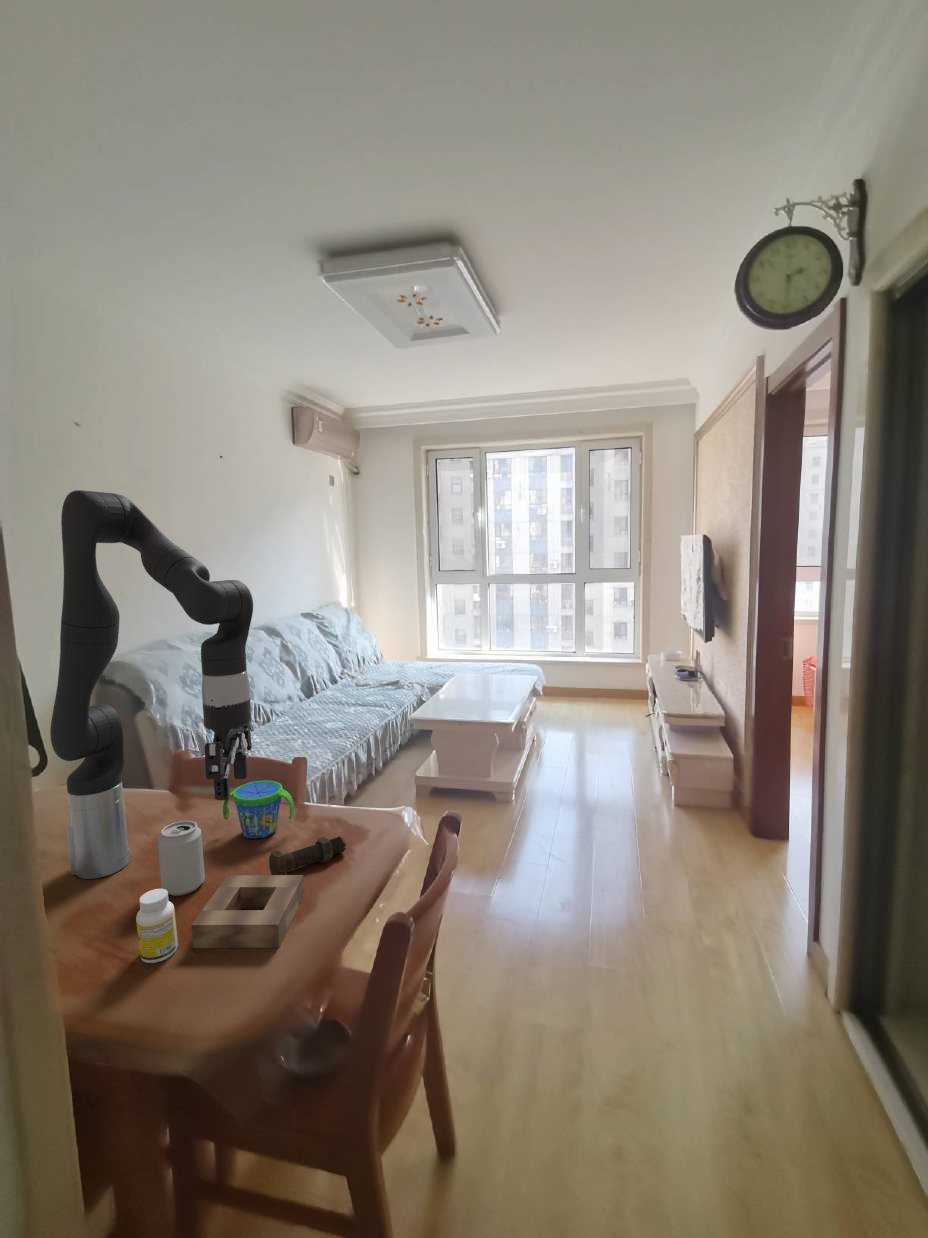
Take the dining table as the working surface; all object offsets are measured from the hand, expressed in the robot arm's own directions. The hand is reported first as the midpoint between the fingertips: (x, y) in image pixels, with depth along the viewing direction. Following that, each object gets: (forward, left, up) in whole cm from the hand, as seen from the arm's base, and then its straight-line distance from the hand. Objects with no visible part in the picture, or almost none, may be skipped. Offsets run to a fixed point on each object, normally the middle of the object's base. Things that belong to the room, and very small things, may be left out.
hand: (232, 788), depth 101 cm
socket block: (+3, -3, -22) cm, 23 cm away
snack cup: (-7, +28, -23) cm, 36 cm away
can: (-14, +7, -23) cm, 27 cm away
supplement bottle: (-9, -11, -23) cm, 27 cm away
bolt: (+9, +14, -23) cm, 28 cm away
